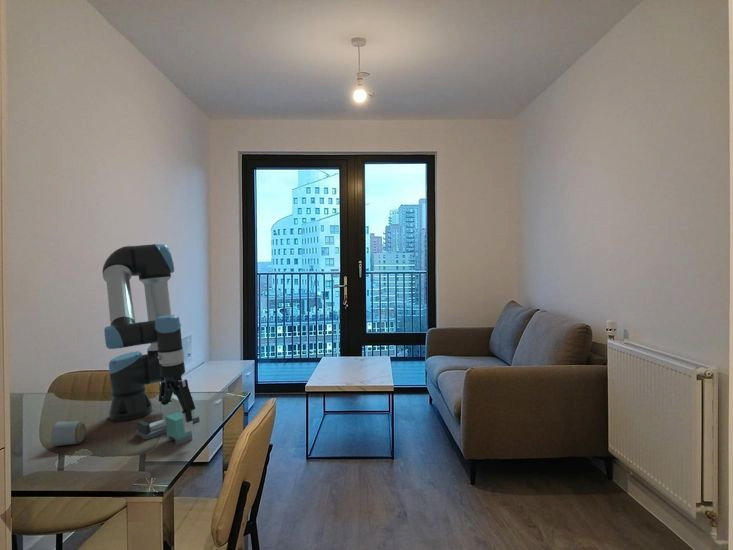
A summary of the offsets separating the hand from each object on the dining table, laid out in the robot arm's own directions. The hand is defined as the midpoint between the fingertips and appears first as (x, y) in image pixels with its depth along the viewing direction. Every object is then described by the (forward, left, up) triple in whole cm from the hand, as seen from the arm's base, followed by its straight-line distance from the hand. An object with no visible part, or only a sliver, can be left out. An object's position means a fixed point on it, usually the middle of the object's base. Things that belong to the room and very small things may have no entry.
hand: (178, 427), depth 160 cm
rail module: (0, 0, -4) cm, 4 cm away
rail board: (-14, +3, -4) cm, 15 cm away
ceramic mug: (-32, -22, -5) cm, 39 cm away
